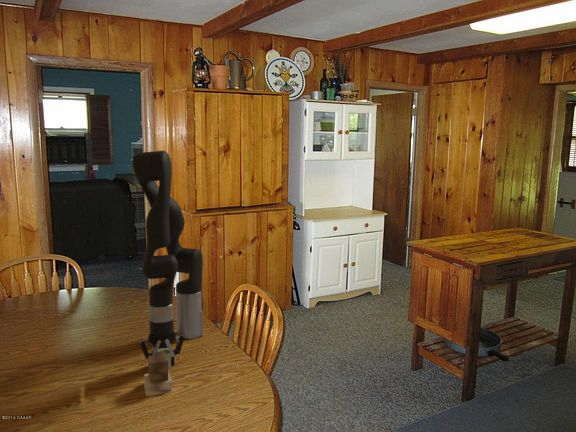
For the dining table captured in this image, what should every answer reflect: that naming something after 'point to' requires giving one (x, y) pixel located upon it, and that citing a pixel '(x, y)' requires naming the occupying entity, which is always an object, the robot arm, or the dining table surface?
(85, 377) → the dining table surface
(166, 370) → the walnut block
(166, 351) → the sage block
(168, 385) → the maple slab
